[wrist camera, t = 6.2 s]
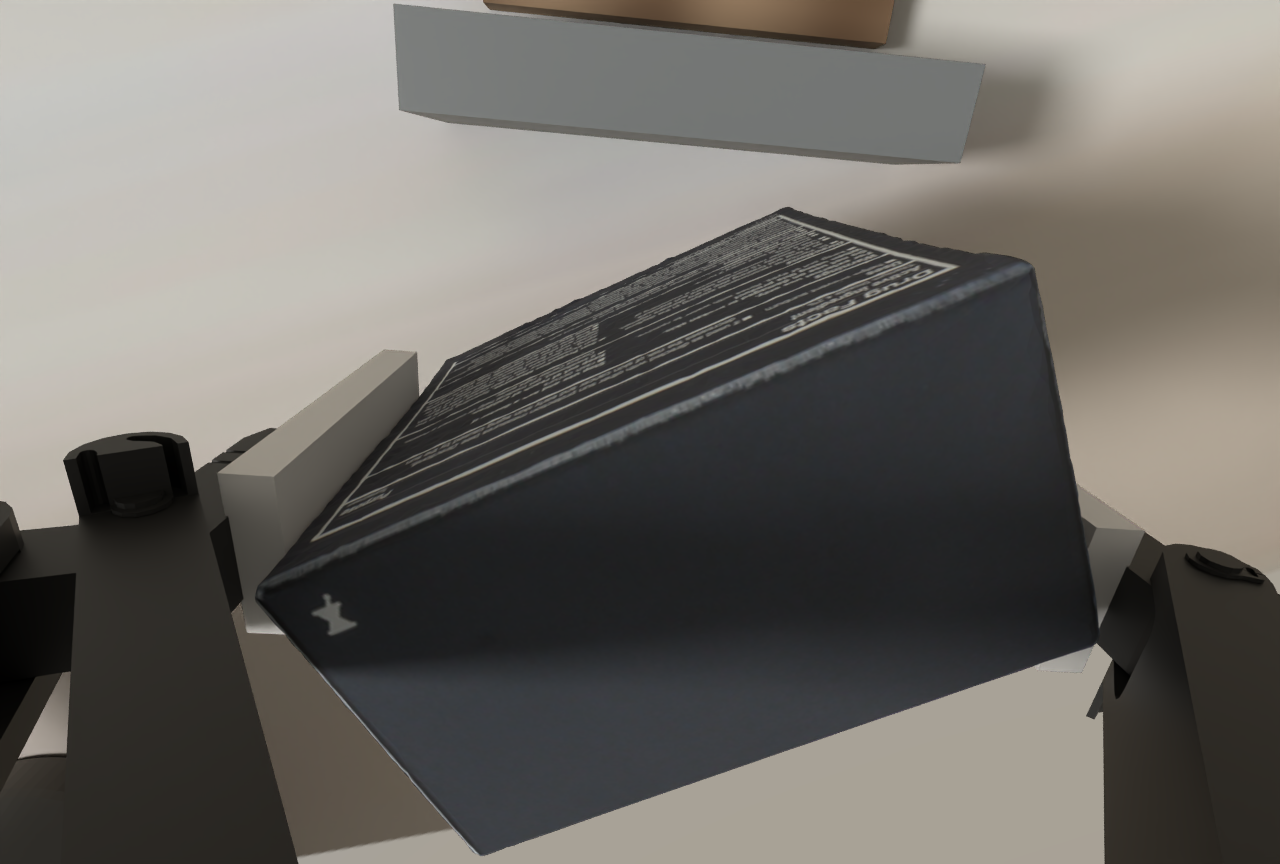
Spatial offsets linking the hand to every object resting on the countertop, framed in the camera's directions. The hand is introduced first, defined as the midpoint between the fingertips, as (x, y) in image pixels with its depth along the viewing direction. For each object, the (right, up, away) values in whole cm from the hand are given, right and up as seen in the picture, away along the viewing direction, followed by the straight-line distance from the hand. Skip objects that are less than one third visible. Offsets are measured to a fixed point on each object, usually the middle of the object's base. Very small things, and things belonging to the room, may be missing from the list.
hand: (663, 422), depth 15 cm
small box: (0, +1, +3) cm, 3 cm away
